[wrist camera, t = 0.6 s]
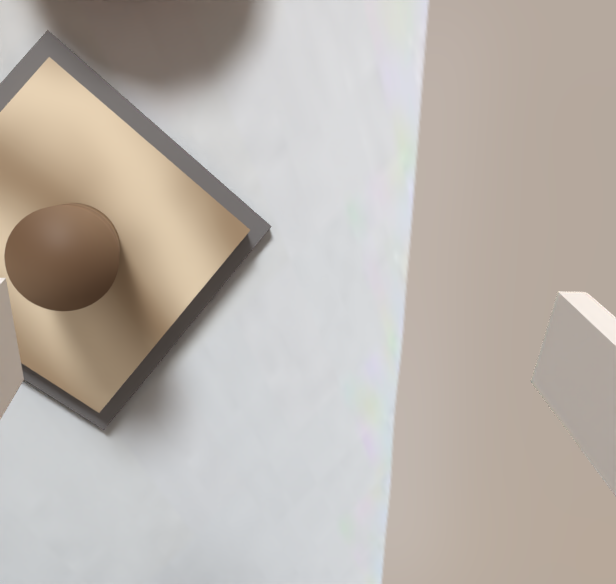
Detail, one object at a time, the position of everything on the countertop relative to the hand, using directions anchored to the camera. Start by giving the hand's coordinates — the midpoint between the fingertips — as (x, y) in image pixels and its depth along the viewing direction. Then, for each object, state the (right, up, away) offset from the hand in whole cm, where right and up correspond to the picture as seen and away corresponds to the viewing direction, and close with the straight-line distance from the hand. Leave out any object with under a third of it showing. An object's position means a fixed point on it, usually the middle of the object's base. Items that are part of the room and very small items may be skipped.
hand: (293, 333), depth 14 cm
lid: (-11, +3, +14) cm, 19 cm away
